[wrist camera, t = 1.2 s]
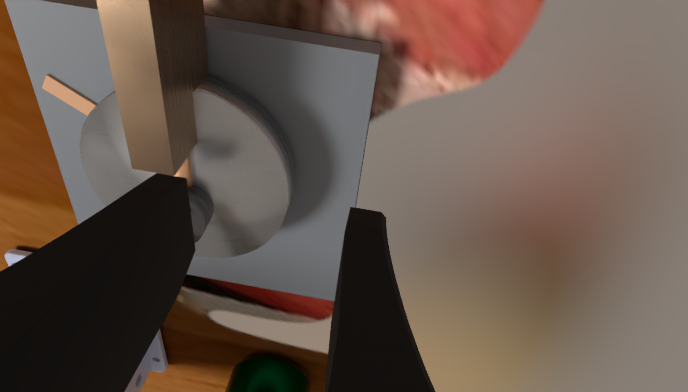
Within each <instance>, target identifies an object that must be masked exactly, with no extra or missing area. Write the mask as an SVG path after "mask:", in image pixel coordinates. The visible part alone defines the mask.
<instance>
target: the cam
mask: <svg viewBox="0 0 688 392" xmlns="http://www.w3.org/2000/svg"><path fill="white" fill-rule="evenodd" d="M96 1H97V6H98V11H99V16H100V20H101V25H102V30H103V34H104V39H105V44H106V48H107V53H108V58H109V63H110V67H111V72H112V77H113V81H114V86H115V89H114V90H113V91H112V92H111V93H109V94H108V95H107V96H106V97H105V98H104V99H103V100H102V101H100V102H99V103H98V104H97V105H96V106H95V107H94V108H93V110H92V111H91V112H90V113H89V115H88V116H87V118H86V120H85V122H84V124H83V128H82V131H81V135H80V156H81V161H82V166H83V168H84V171H85V174H86V177H87V179H88V181H89V183H90V185H91V187H92V188H93V190H94V191H95V193H96V194H97V196H98V197H99V199H100V200H101V201H102V202H103V204H104V205H105V206H108V205H109V204H111V203H112V202H114V201H115V200H117V199H118V198H120V197H121V196H123V195H124V194H126V193H127V192H129V191H130V190H132V189H133V188H134V187H136V186H138V185H139V184H141V183H142V182H144V181H145V180H147V179H148V178H150V177H151V176H153V175H155V174H156V173H160V174H165V175H171V176H177V177H182V178H187V186H188V194H189V202H190V210H191V218H192V226H193V234H194V242H195V249H196V251H195V253H194V256H196V257H203V258H228V257H234V256H239V255H243V254H246V253H249V252H251V251H254V250H256V249H258V248H259V247H261V246H263V245H264V244H266V243H267V242H268V241H269V240H270V239H271V238H272V237H273V236H274V235H275V234H276V233H277V231H278V230H279V228H280V226H281V224H282V223H283V220H284V218H285V215H286V212H287V209H288V206H289V204H290V201H291V198H292V195H293V192H294V189H295V183H296V166H295V160H294V155H293V152H292V149H291V146H290V144H289V142H288V140H287V138H286V136H285V134H284V132H283V131H282V129H281V128H280V126H279V124H278V123H277V122H276V120H275V119H274V118H273V117H272V116H271V114H270V113H269V112H268V111H267V110H266V109H265V108H264V107H263V106H262V105H261V104H260V103H259V102H258V101H257V100H255V99H254V98H253V97H251V96H250V95H249V94H247V93H246V92H245V91H243V90H242V89H240V88H238V87H237V86H235V85H233V84H232V83H230V82H227V81H225V80H223V79H221V78H219V77H217V76H214V75H211V74H209V71H208V58H207V45H206V32H205V19H204V6H203V0H96Z"/></svg>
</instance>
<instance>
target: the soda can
mask: <svg viewBox="0 0 688 392" xmlns="http://www.w3.org/2000/svg"><path fill="white" fill-rule="evenodd" d="M310 389H311V386H310V383H309V380H308V378H307V376H306V375H305V373H304V372H303V370H302V369H301V368H300V367H299V366H297V365H296V364H295V363H293V362H291V361H289V360H287V359H285V358H282V357H279V356H274V355H267V354H260V355H254V356H250V357H248V358H246V359H244V360H243V361H241V362H239V363H238V364H237V365H236V366H235V367H234V368H233V371H232V374H231V376H230V379H229V382H228V385H227V388H226V390H225V392H310Z"/></svg>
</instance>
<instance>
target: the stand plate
mask: <svg viewBox="0 0 688 392" xmlns="http://www.w3.org/2000/svg"><path fill="white" fill-rule="evenodd" d="M5 3H6V6H7V9H8V12H9V15H10V18H11V21H12V24H13V27H14V30H15V33H16V36H17V39H18V42H19V46H20V49H21V52H22V55H23V58H24V61H25V64H26V67H27V70H28V73H29V76H30V79H31V82H32V85H33V88H34V91H35V94H36V97H37V100H38V103H39V106H40V109H41V112H42V115H43V118H44V121H45V124H46V127H47V131H48V134H49V137H50V140H51V143H52V146H53V149H54V152H55V155H56V158H57V161H58V164H59V167H60V170H61V173H62V176H63V179H64V182H65V185H66V188H67V191H68V194H69V197H70V200H71V203H72V206H73V209H74V212H75V216H76V219H77V222H78V225H79V224H80V223H82V222H83V221H85V220H86V219H88V218H89V217H91V216H92V215H94V214H96V213H97V212H99V211H100V210H102V209H103V208H105V207H106V206H105V205H104V204H103V202H102V201H101V200H100V199H99V197H98V196H97V194H96V193H95V191H94V190H93V188H92V187H91V185H90V183H89V181H88V179H87V177H86V174H85V171H84V168H83V166H82V161H81V156H80V135H81V131H82V128H83V124H84V122H85V120H86V118H87V116H88V115H89V113H90V112H91V111H92V110H93V108H94V107H95V106H96V105H97V104H98V103H99V102H100V101H102V100H103V99H104V98H105V97H106V96H107V95H108V94H109V93H111V92H112V91H113V90H114V89H115V86H114V81H113V77H112V72H111V67H110V63H109V58H108V53H107V48H106V44H105V39H104V34H103V30H102V25H101V20H100V16H99V11H98V6H97V1H96V0H5ZM204 19H205V32H206V45H207V58H208V71H209V74H211V75H214V76H217V77H219V78H221V79H223V80H225V81H227V82H230V83H232V84H233V85H235V86H237V87H238V88H240V89H242V90H243V91H245V92H246V93H247V94H249V95H250V96H251V97H253V98H254V99H255V100H257V101H258V102H259V103H260V104H261V105H262V106H263V107H264V108H265V109H266V110H267V111H268V112H269V113H270V114H271V116H272V117H273V118H274V119H275V120H276V122H277V123H278V124H279V126H280V128H281V129H282V131H283V132H284V134H285V136H286V138H287V140H288V142H289V144H290V146H291V149H292V152H293V155H294V160H295V166H296V183H295V189H294V192H293V195H292V198H291V201H290V204H289V206H288V209H287V212H286V215H285V218H284V220H283V223H282V224H281V226H280V228H279V230H278V231H277V233H276V234H275V235H274V236H273V237H272V238H271V239H270V240H269V241H268V242H267V243H266V244H264V245H263V246H261V247H259V248H258V249H256V250H254V251H251V252H249V253H246V254H243V255H239V256H234V257H228V258H203V257H196V256H193V259H192V261H191V264H190V266H189V269H188V272H187V274H188V275H194V276H199V277H204V278H210V279H215V280H221V281H226V282H232V283H237V284H243V285H248V286H254V287H259V288H264V289H270V290H275V291H281V292H286V293H292V294H297V295H303V296H308V297H314V298H319V299H325V300H330V301H335V294H336V287H337V281H338V274H339V267H340V260H341V253H342V247H343V240H344V233H345V228H346V224H347V220H348V215H349V211H350V207H354V208H356V201H357V195H358V189H359V183H360V176H361V170H362V164H363V158H364V152H365V145H366V139H367V133H368V126H369V120H370V114H371V108H372V101H373V95H374V89H375V83H376V76H377V70H378V64H379V58H380V51H381V45H382V43H378V42H371V41H365V40H359V39H353V38H346V37H340V36H334V35H327V34H321V33H315V32H309V31H302V30H296V29H290V28H284V27H277V26H271V25H265V24H258V23H252V22H246V21H240V20H233V19H227V18H221V17H215V16H208V15H204Z"/></svg>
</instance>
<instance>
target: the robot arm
mask: <svg viewBox="0 0 688 392" xmlns="http://www.w3.org/2000/svg"><path fill="white" fill-rule="evenodd" d="M195 251H196V249H195V242H194V234H193V226H192V218H191V210H190V202H189V194H188V186H187V178H182V177H177V176H171V175H165V174H160V173H156V174H155V175H153V176H151V177H150V178H148V179H147V180H145V181H144V182H142V183H141V184H139V185H138V186H136V187H134V188H133V189H132V190H130V191H129V192H127V193H126V194H124V195H123V196H121V197H120V198H118V199H117V200H115V201H114V202H112V203H111V204H109V205H108V206H106V207H105V208H103V209H102V210H100V211H99V212H97V213H96V214H94V215H92V216H91V217H89V218H88V219H86V220H85V221H83V222H82V223H80V224H79V225H77V226H75V227H74V228H72V229H71V230H69V231H68V232H66V233H65V234H63V235H61V236H60V237H58V238H57V239H55V240H53V241H51V242H50V243H48V244H46V245H45V246H43V247H41V248H40V249H38V250H36V251H35V252H28V251H22V250H17V249H10V250H9V251H8V252H7V253H6V254H5V259H6V261H7V263H8V265H9V267H8V268H6V269H4V270H2V271H0V392H140V391H141V389H142V387H143V385H144V383H145V381H146V379H147V377H148V375H149V373H150V371H151V370H152V371H157V372H165V371H166V369H167V367H168V362H167V358H166V353H165V349H164V345H163V340H162V336H161V331H160V327H161V325H162V323H163V322H164V320H165V318H166V316H167V314H168V312H169V311H170V309H171V307H172V305H173V303H174V301H175V299H176V298H177V296H178V294H179V291H180V289H181V286H182V284H183V282H184V279H185V277H186V274H187V272H188V269H189V266H190V264H191V261H192V259H193V256H194V253H195ZM325 392H435V390H434V388H433V385H432V383H431V381H430V378H429V376H428V373H427V371H426V369H425V366H424V363H423V361H422V358H421V356H420V353H419V351H418V348H417V345H416V342H415V339H414V336H413V334H412V331H411V328H410V325H409V323H408V319H407V316H406V313H405V310H404V306H403V303H402V299H401V296H400V292H399V289H398V285H397V282H396V278H395V274H394V270H393V266H392V261H391V256H390V251H389V245H388V239H387V230H386V217H385V216H384V215H383V214H382V213H381V212H377V211H372V210H365V209H360V208H354V207H350V211H349V215H348V220H347V224H346V228H345V233H344V240H343V247H342V253H341V260H340V267H339V274H338V281H337V287H336V294H335V301H334V308H333V314H332V321H331V331H330V342H329V352H328V363H327V374H326V384H325Z"/></svg>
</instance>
